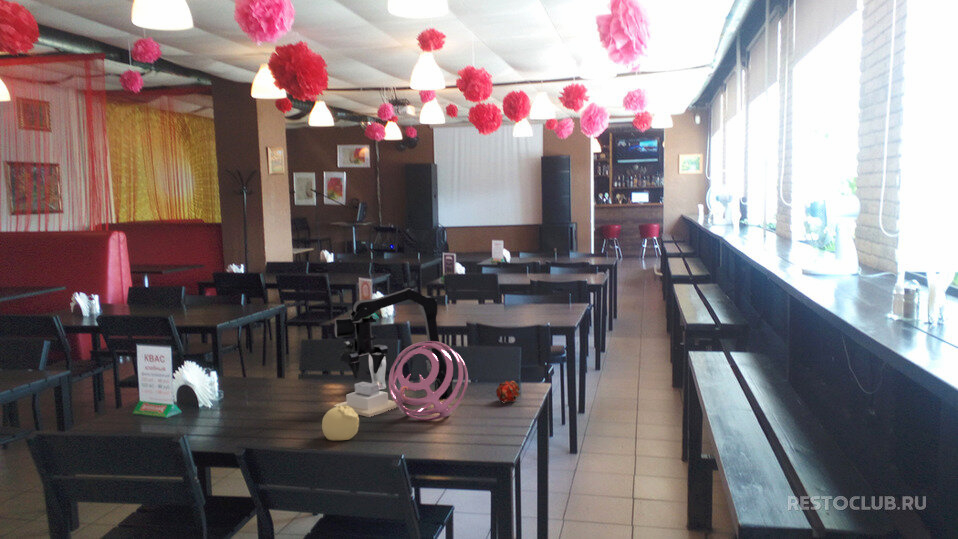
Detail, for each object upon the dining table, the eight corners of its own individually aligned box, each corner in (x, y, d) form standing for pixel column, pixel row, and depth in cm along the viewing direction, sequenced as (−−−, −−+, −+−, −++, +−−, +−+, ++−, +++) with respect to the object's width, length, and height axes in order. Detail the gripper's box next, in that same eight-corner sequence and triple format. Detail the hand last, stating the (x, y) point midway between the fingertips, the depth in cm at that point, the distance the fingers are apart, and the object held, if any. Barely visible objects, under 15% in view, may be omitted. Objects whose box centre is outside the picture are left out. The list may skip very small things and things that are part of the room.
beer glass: (385, 389, 284) (383, 353, 283) (368, 390, 284) (366, 354, 283) (388, 385, 291) (386, 350, 290) (371, 386, 291) (369, 350, 290)
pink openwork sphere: (424, 348, 268) (399, 319, 245) (488, 370, 257) (468, 342, 234) (392, 415, 258) (363, 391, 235) (458, 441, 247) (433, 419, 224)
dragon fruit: (517, 401, 266) (504, 414, 256) (499, 387, 268) (486, 400, 257) (527, 385, 262) (515, 398, 252) (509, 371, 264) (497, 384, 254)
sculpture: (363, 440, 224) (361, 408, 223) (325, 446, 220) (323, 413, 219) (357, 430, 235) (355, 399, 234) (321, 435, 231) (318, 403, 230)
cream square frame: (401, 405, 261) (401, 392, 260) (369, 417, 248) (368, 402, 248) (366, 398, 273) (365, 385, 273) (333, 408, 261) (332, 394, 261)
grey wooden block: (379, 404, 260) (378, 384, 259) (371, 407, 256) (370, 387, 256) (363, 400, 265) (362, 381, 264) (355, 403, 262) (354, 384, 261)
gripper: (368, 328, 271) (370, 368, 272) (329, 337, 256) (332, 378, 258) (387, 331, 263) (390, 371, 265) (349, 340, 249) (352, 382, 251)
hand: (366, 375), depth 260 cm, fingers open, 9 cm apart
